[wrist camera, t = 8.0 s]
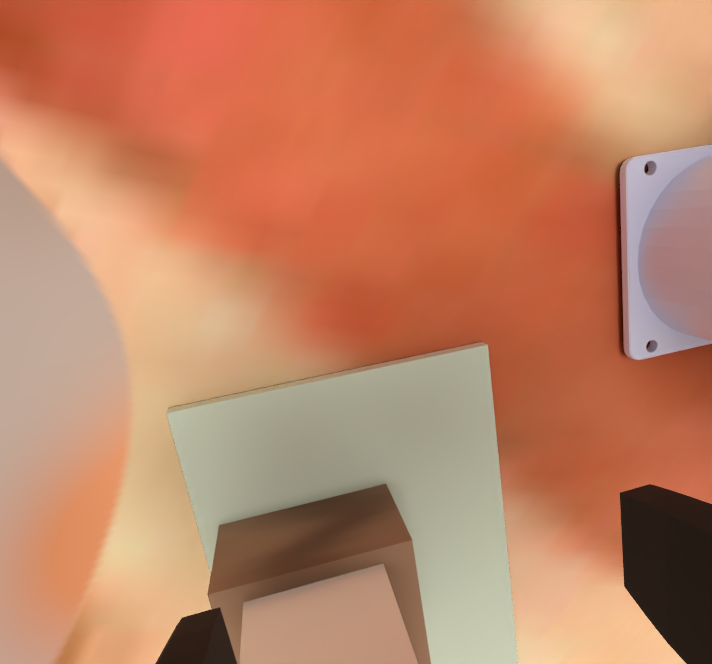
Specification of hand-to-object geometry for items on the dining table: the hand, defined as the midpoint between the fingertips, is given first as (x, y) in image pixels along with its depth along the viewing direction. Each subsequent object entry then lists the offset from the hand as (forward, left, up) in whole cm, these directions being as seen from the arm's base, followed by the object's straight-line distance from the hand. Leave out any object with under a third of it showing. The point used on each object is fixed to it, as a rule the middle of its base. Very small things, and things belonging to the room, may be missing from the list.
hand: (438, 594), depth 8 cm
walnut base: (+2, +7, -10) cm, 12 cm away
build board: (0, +7, -10) cm, 13 cm away
